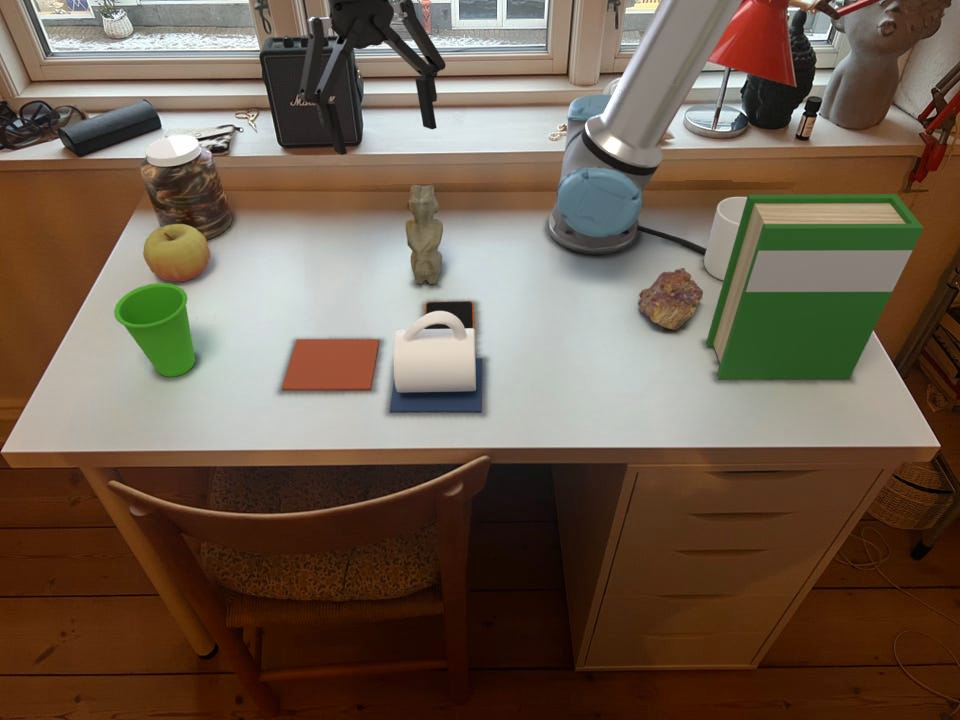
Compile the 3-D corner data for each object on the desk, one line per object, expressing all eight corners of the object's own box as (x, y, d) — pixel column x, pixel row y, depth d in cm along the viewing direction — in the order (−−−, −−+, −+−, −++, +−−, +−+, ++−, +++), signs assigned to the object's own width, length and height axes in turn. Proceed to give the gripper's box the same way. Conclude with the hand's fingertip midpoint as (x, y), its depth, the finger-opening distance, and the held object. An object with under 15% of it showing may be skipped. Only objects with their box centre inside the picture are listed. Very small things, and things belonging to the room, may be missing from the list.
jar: (178, 207, 129) (151, 129, 119) (240, 208, 129) (218, 131, 119) (153, 243, 121) (121, 163, 111) (219, 244, 120) (193, 164, 110)
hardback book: (718, 379, 95) (765, 228, 79) (706, 343, 101) (747, 194, 84) (848, 379, 95) (923, 227, 79) (829, 343, 100) (895, 194, 84)
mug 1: (401, 362, 98) (393, 294, 90) (475, 361, 98) (474, 292, 90) (397, 405, 92) (388, 337, 84) (476, 404, 92) (474, 335, 84)
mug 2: (712, 297, 108) (728, 238, 101) (698, 252, 117) (712, 195, 110) (768, 298, 108) (788, 239, 101) (750, 253, 117) (768, 196, 109)
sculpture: (448, 263, 116) (444, 181, 105) (442, 289, 110) (437, 206, 100) (413, 261, 116) (406, 179, 106) (405, 287, 111) (397, 204, 101)
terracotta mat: (379, 341, 102) (379, 339, 101) (370, 390, 94) (370, 388, 94) (297, 341, 102) (296, 339, 102) (282, 390, 95) (281, 388, 94)
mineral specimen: (628, 277, 110) (657, 246, 105) (666, 298, 112) (695, 268, 108) (639, 326, 101) (671, 294, 97) (680, 347, 103) (713, 317, 99)
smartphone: (421, 381, 96) (420, 377, 96) (425, 305, 108) (425, 301, 108) (476, 380, 96) (476, 376, 96) (474, 304, 108) (474, 300, 108)
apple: (145, 291, 111) (127, 249, 105) (162, 256, 118) (146, 214, 112) (207, 288, 111) (193, 246, 106) (220, 253, 118) (207, 212, 113)
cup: (190, 391, 95) (164, 330, 87) (129, 382, 96) (99, 321, 88) (221, 347, 101) (199, 286, 93) (164, 339, 102) (138, 279, 95)
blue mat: (482, 360, 99) (482, 358, 98) (481, 412, 91) (481, 410, 91) (397, 360, 99) (396, 358, 98) (389, 412, 91) (389, 410, 91)
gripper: (427, -50, 93) (452, 114, 104) (243, -18, 83) (292, 158, 95) (454, -53, 87) (477, 121, 98) (259, -19, 78) (309, 169, 89)
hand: (386, 139), depth 96 cm, fingers open, 13 cm apart
